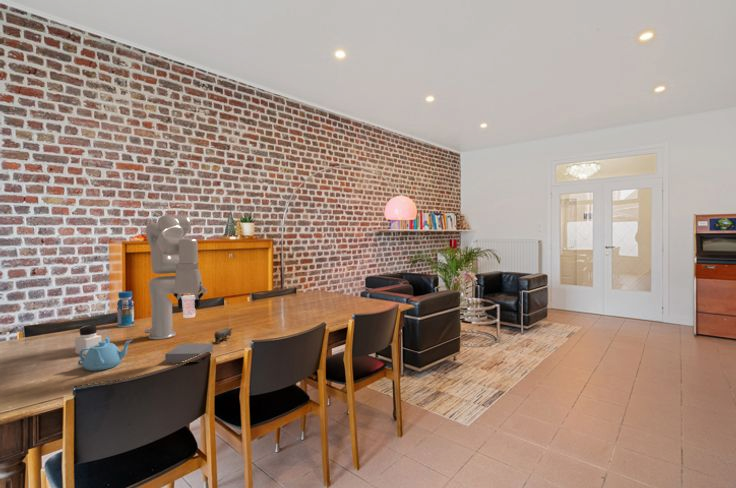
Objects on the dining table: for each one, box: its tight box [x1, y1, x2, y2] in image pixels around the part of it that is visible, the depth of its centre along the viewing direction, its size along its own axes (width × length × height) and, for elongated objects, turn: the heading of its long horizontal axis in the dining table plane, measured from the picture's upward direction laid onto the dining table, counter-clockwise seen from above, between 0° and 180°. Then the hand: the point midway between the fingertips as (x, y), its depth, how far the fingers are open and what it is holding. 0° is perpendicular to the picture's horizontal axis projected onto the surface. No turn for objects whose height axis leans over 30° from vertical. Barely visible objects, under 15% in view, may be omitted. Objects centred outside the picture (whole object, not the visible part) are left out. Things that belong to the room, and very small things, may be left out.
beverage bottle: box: [116, 290, 135, 328], centre depth 215 cm, size 8×8×20 cm
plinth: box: [164, 342, 214, 364], centre depth 159 cm, size 14×14×4 cm
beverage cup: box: [181, 294, 197, 319], centre depth 159 cm, size 6×6×14 cm
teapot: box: [77, 335, 133, 372], centre depth 149 cm, size 15×15×10 cm
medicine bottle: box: [74, 324, 103, 356], centre depth 167 cm, size 7×7×12 cm
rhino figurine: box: [214, 327, 233, 345], centre depth 185 cm, size 4×14×6 cm, turn 166°
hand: (189, 307), depth 159 cm, fingers closed on beverage cup, 6 cm apart
